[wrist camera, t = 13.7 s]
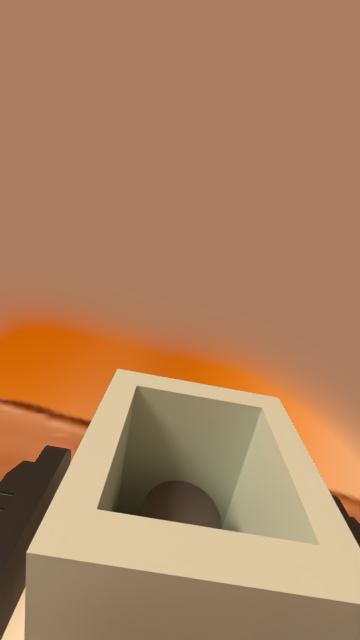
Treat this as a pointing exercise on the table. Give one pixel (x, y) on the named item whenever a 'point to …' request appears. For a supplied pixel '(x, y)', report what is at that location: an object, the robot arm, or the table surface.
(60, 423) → the table surface
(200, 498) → the post base
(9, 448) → the table surface
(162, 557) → the cream square bin
